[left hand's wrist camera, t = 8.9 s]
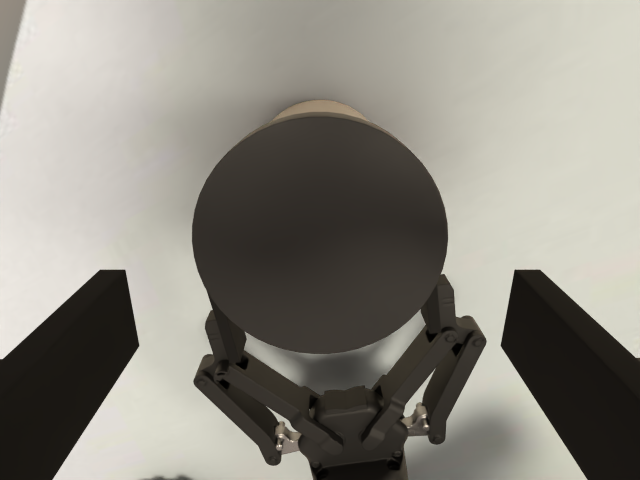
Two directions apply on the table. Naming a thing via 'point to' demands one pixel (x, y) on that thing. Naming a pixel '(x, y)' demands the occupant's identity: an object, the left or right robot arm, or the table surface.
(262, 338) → the lid
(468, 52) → the table surface
